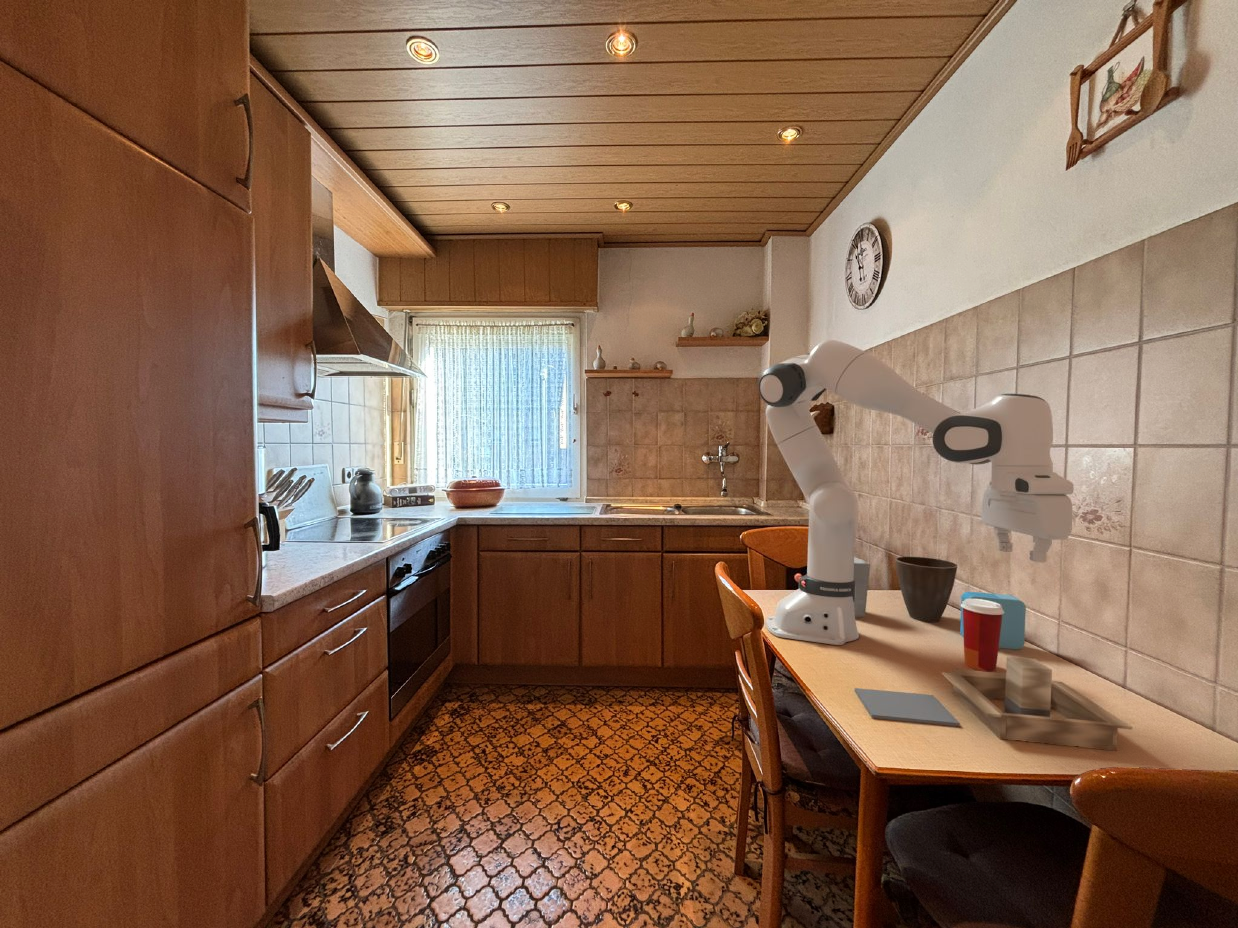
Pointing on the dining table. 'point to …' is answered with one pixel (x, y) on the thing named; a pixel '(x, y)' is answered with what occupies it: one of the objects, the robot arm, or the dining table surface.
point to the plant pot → (925, 586)
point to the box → (1027, 687)
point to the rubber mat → (905, 707)
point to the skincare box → (861, 586)
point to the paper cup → (981, 633)
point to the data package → (1004, 618)
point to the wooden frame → (1080, 729)
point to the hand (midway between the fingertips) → (1020, 556)
